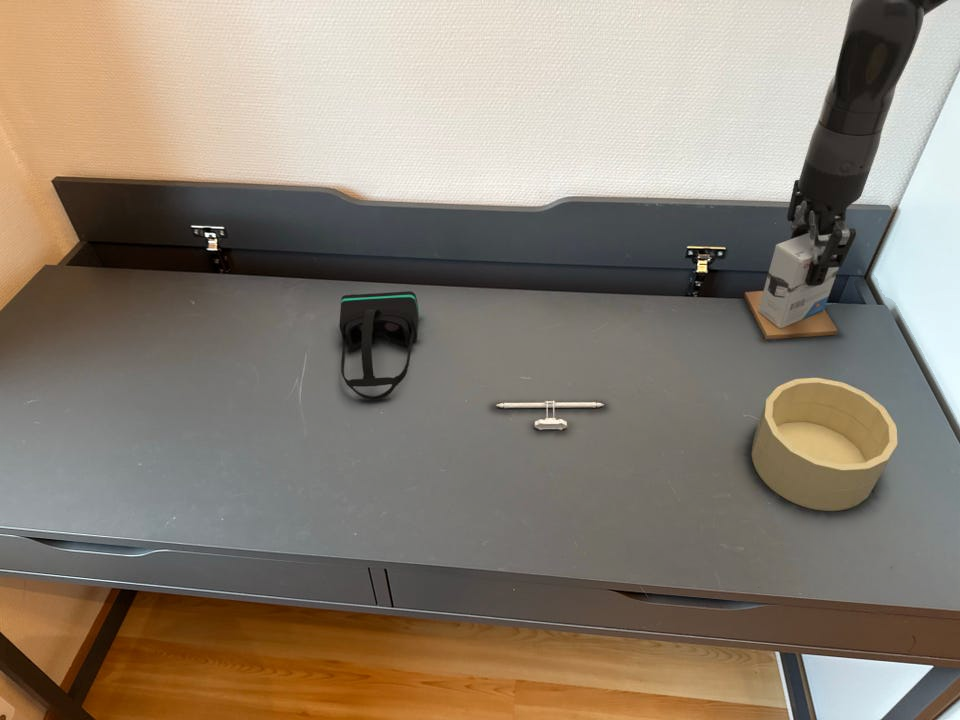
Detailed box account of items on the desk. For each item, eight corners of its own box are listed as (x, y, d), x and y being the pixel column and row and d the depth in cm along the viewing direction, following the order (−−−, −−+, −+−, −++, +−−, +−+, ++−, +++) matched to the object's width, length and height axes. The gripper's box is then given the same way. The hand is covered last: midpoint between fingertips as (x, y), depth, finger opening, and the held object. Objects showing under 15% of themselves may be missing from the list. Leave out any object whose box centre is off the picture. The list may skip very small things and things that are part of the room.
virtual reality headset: (419, 317, 107) (411, 268, 99) (417, 407, 96) (408, 360, 88) (347, 321, 107) (333, 273, 99) (336, 411, 96) (320, 365, 88)
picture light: (603, 404, 92) (604, 393, 91) (606, 429, 89) (607, 418, 88) (496, 405, 93) (495, 394, 92) (495, 430, 90) (495, 419, 88)
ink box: (800, 292, 105) (822, 225, 97) (825, 311, 102) (850, 242, 94) (755, 310, 103) (774, 243, 95) (779, 329, 100) (801, 261, 92)
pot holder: (809, 291, 107) (810, 287, 106) (836, 334, 100) (838, 330, 99) (743, 296, 107) (744, 292, 106) (765, 339, 100) (767, 335, 99)
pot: (844, 416, 88) (863, 374, 83) (895, 507, 79) (921, 465, 73) (736, 424, 89) (749, 381, 83) (774, 514, 79) (790, 473, 74)
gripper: (898, 185, 81) (853, 299, 92) (845, 129, 91) (810, 238, 103) (832, 189, 81) (795, 303, 92) (787, 133, 91) (759, 242, 103)
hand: (803, 268), depth 98 cm, fingers closed on ink box, 6 cm apart
